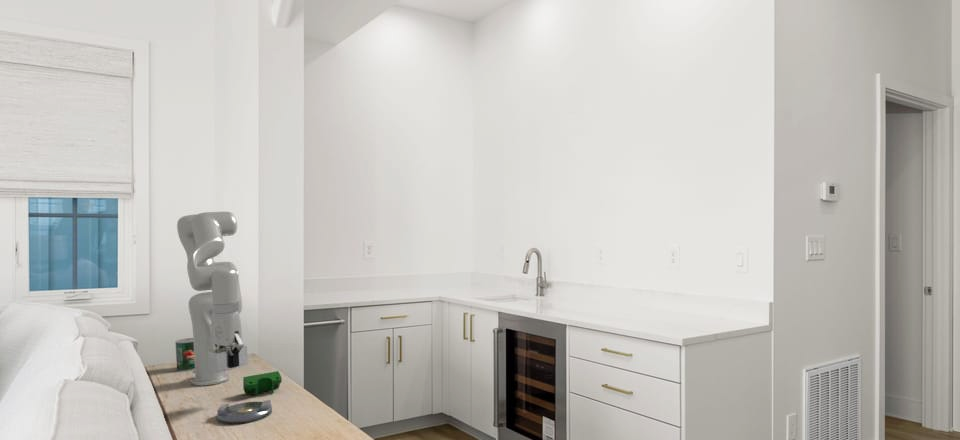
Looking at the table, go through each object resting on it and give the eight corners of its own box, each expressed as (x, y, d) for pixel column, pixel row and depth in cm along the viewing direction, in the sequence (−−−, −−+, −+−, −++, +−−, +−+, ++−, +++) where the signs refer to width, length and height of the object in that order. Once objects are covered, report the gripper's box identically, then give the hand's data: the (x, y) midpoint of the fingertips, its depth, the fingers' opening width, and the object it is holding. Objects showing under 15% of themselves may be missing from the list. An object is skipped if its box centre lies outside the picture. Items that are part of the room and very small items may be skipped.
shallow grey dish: (211, 426, 172) (211, 416, 172) (224, 409, 187) (223, 399, 187) (267, 421, 174) (266, 410, 174) (275, 404, 189) (274, 394, 189)
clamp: (253, 409, 199) (241, 388, 195) (249, 400, 204) (238, 379, 200) (288, 390, 203) (277, 369, 200) (283, 381, 208) (273, 361, 205)
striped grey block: (209, 370, 189) (208, 350, 189) (238, 362, 197) (238, 343, 197) (217, 373, 186) (217, 353, 186) (247, 364, 194) (246, 345, 194)
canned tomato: (193, 370, 234) (191, 342, 234) (172, 371, 234) (171, 343, 234) (203, 365, 242) (201, 337, 242) (183, 366, 242) (181, 338, 242)
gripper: (199, 307, 192) (201, 364, 193) (231, 313, 183) (234, 373, 184) (221, 303, 198) (223, 358, 200) (253, 308, 189) (255, 366, 190)
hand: (228, 365), depth 192 cm, fingers closed on striped grey block, 5 cm apart
